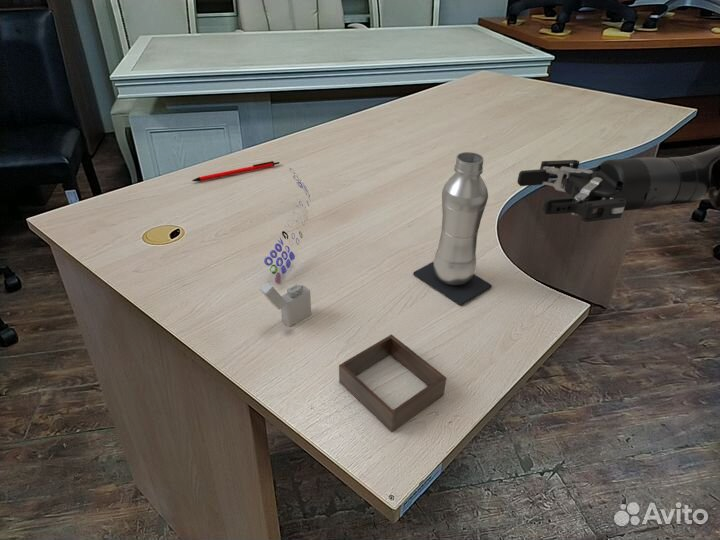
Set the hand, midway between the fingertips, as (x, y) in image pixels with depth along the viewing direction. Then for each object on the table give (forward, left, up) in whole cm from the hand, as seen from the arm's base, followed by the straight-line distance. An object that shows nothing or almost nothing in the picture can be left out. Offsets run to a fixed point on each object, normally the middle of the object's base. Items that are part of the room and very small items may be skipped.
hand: (531, 191), depth 75 cm
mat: (+5, +9, -15) cm, 18 cm away
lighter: (+13, +34, -15) cm, 39 cm away
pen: (+59, +16, -15) cm, 63 cm away
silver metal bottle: (+5, +9, -14) cm, 17 cm away
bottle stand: (-5, +31, -15) cm, 34 cm away
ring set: (+30, +21, -15) cm, 39 cm away
